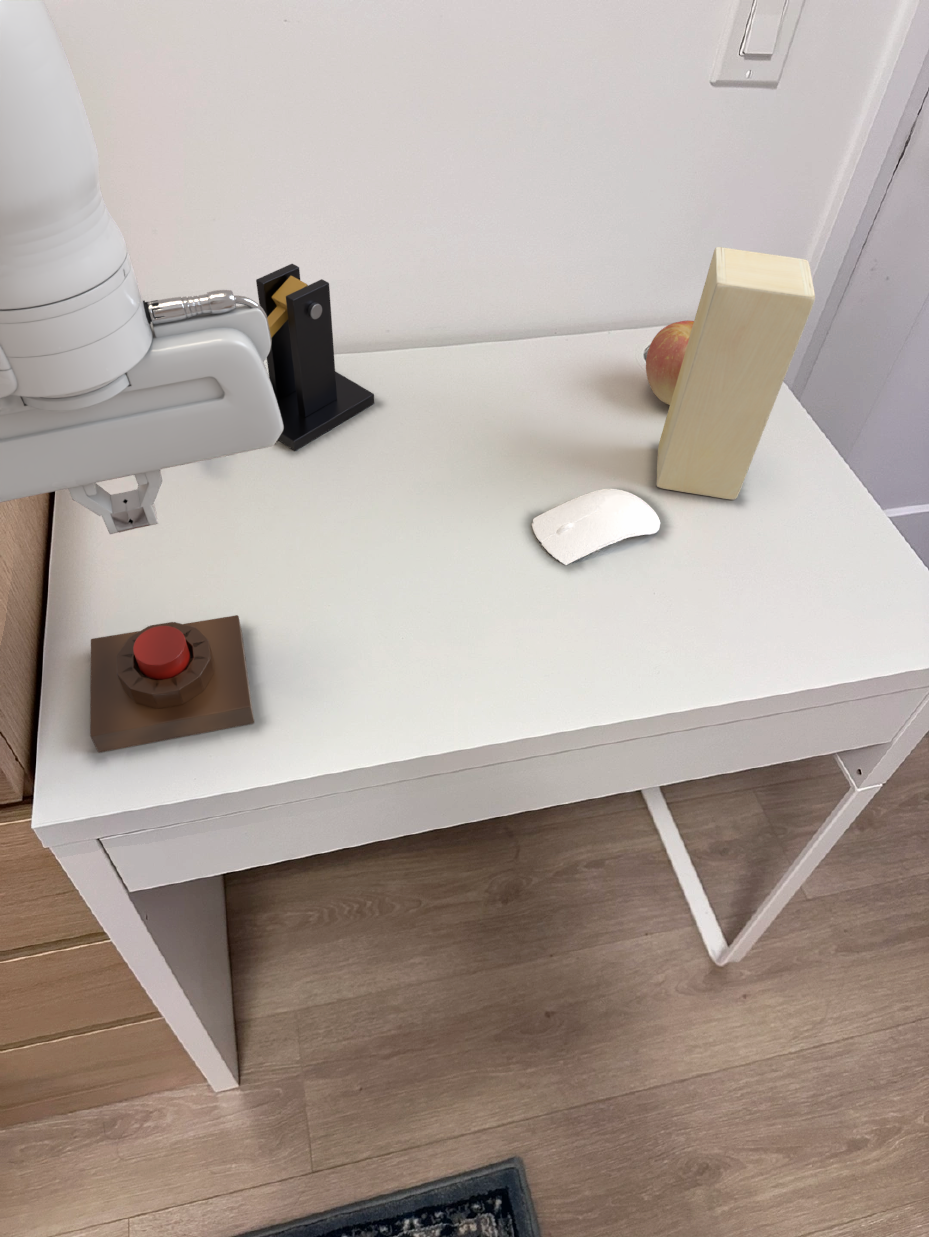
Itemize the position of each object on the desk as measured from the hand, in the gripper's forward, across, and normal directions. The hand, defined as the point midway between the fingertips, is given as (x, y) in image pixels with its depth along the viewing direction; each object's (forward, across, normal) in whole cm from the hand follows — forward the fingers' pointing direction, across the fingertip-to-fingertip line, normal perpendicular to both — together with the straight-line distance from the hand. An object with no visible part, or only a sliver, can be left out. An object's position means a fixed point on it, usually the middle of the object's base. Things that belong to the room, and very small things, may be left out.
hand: (133, 523), depth 54 cm
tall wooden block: (+19, -50, -12) cm, 55 cm away
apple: (+19, -54, -24) cm, 62 cm away
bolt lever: (+8, -11, -29) cm, 32 cm away
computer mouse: (+18, -37, -7) cm, 42 cm away
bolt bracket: (+17, -15, -32) cm, 39 cm away
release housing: (+16, +2, 0) cm, 17 cm away
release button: (+13, +1, 0) cm, 13 cm away
